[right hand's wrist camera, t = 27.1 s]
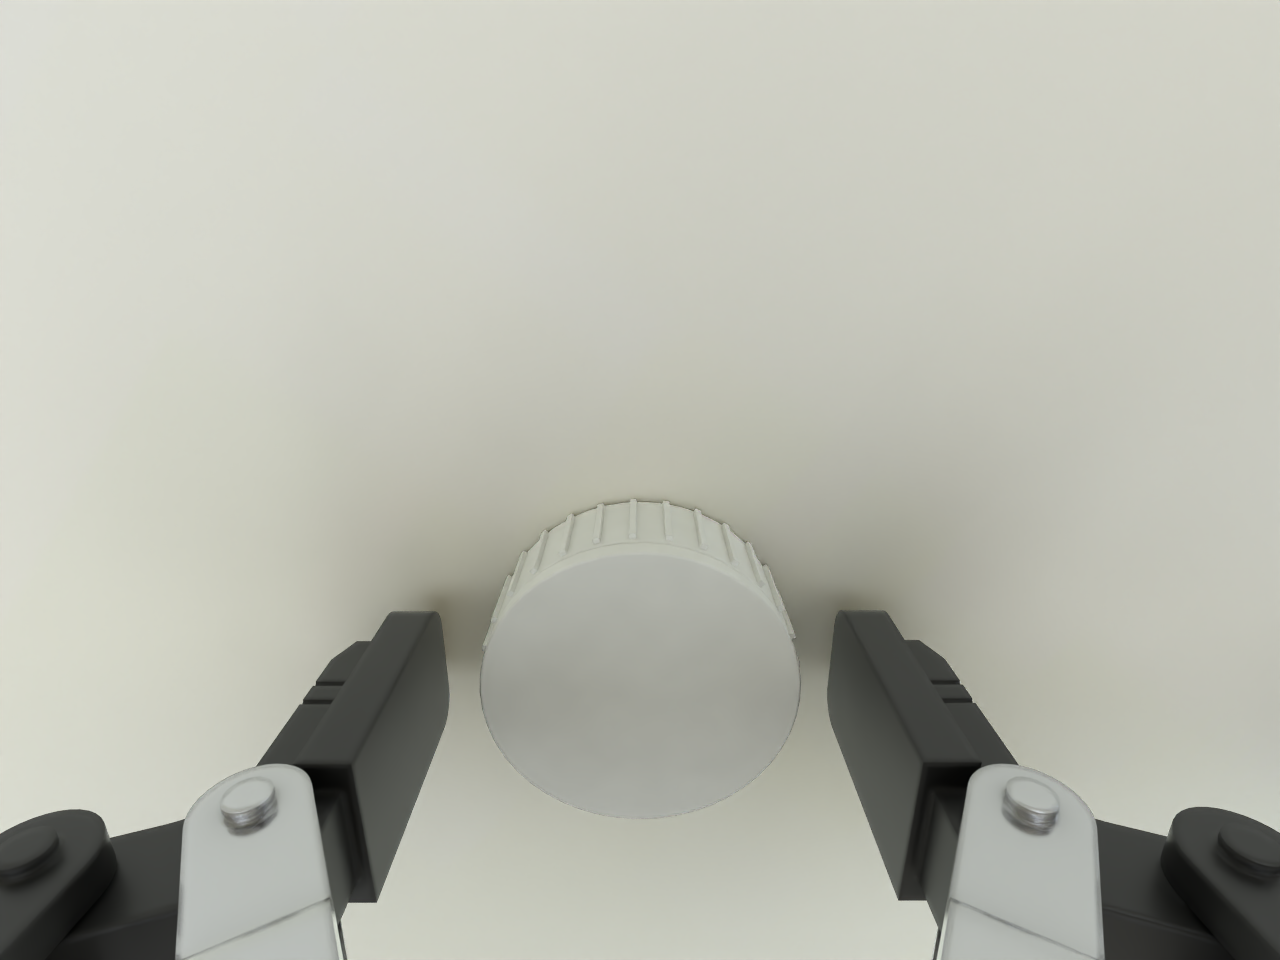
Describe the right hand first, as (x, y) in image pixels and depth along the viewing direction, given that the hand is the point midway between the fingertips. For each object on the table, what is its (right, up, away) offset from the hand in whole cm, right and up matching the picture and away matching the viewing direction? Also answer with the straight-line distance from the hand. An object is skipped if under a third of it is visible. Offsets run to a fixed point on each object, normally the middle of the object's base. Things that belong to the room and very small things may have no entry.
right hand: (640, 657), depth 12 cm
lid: (0, 0, -1) cm, 1 cm away
